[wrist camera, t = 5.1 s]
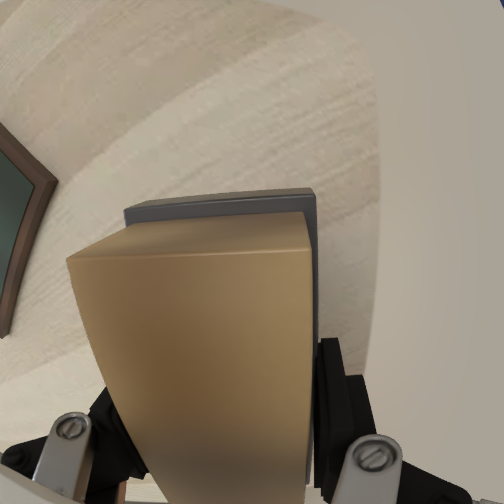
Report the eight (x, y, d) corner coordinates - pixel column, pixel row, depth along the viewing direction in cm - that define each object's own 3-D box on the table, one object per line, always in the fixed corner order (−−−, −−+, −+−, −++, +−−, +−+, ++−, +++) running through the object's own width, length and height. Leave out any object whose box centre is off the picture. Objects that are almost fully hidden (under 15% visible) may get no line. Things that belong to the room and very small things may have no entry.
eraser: (312, 187, 9) (332, 218, 4) (309, 460, 12) (307, 541, 8) (145, 200, 9) (48, 238, 5) (204, 455, 13) (181, 530, 8)
